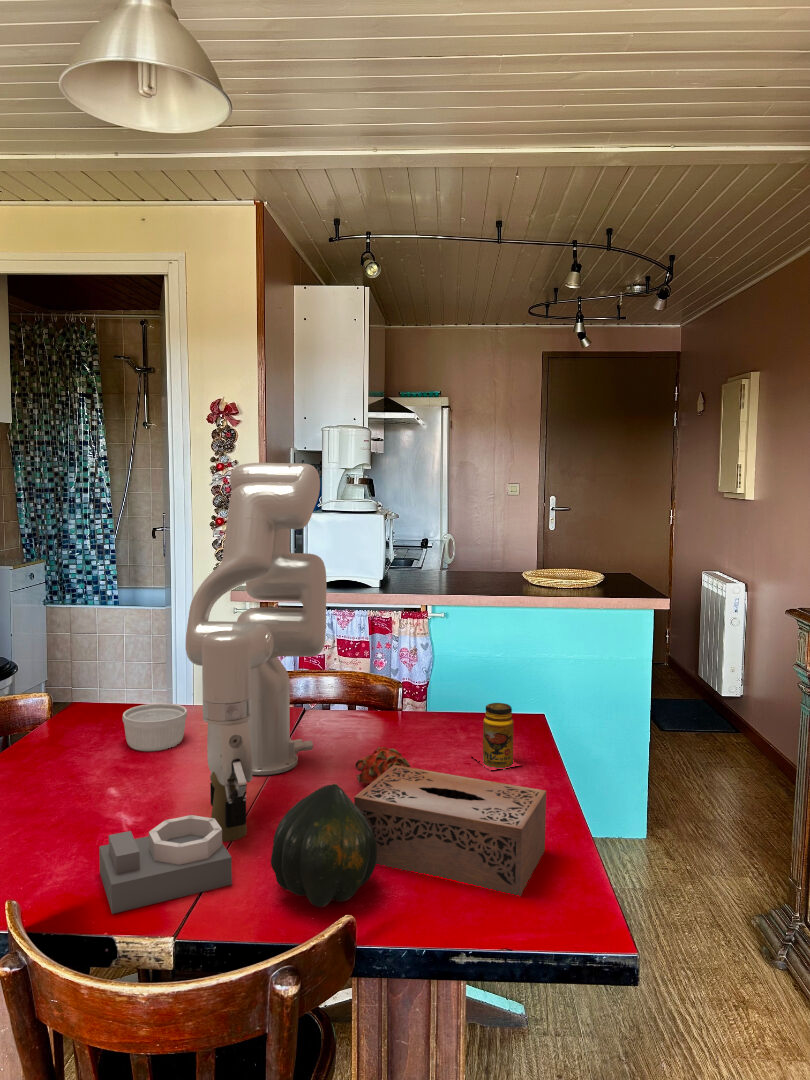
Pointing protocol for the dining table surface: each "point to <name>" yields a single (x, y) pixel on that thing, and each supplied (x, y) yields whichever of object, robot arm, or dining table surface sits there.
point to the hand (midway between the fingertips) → (227, 814)
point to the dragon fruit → (378, 764)
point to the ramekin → (154, 726)
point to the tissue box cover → (456, 826)
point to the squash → (324, 847)
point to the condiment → (498, 736)
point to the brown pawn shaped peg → (219, 812)
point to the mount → (164, 863)
